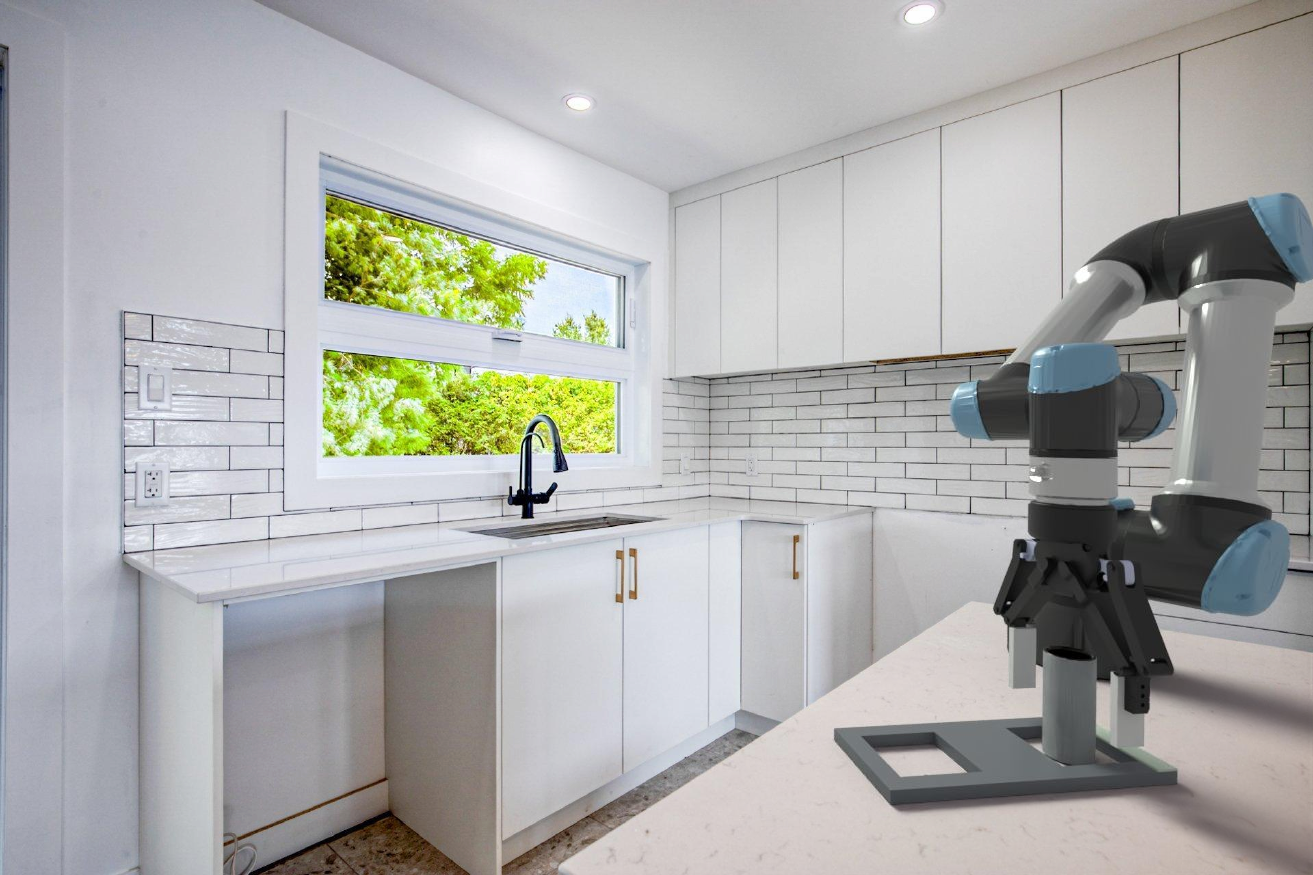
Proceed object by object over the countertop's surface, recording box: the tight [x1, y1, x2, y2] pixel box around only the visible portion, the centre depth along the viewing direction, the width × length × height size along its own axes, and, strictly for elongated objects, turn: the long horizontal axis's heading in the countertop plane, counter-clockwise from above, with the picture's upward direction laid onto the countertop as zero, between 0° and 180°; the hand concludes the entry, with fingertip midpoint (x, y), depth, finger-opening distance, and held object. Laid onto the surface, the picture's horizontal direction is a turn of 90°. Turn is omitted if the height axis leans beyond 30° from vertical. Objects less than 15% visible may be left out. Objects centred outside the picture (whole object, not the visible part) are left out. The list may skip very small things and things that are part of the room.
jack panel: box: [833, 716, 1179, 805], centre depth 64 cm, size 28×12×1 cm, turn 98°
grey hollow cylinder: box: [1041, 646, 1098, 766], centre depth 65 cm, size 4×4×10 cm
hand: (1069, 713), depth 65 cm, fingers open, 13 cm apart
